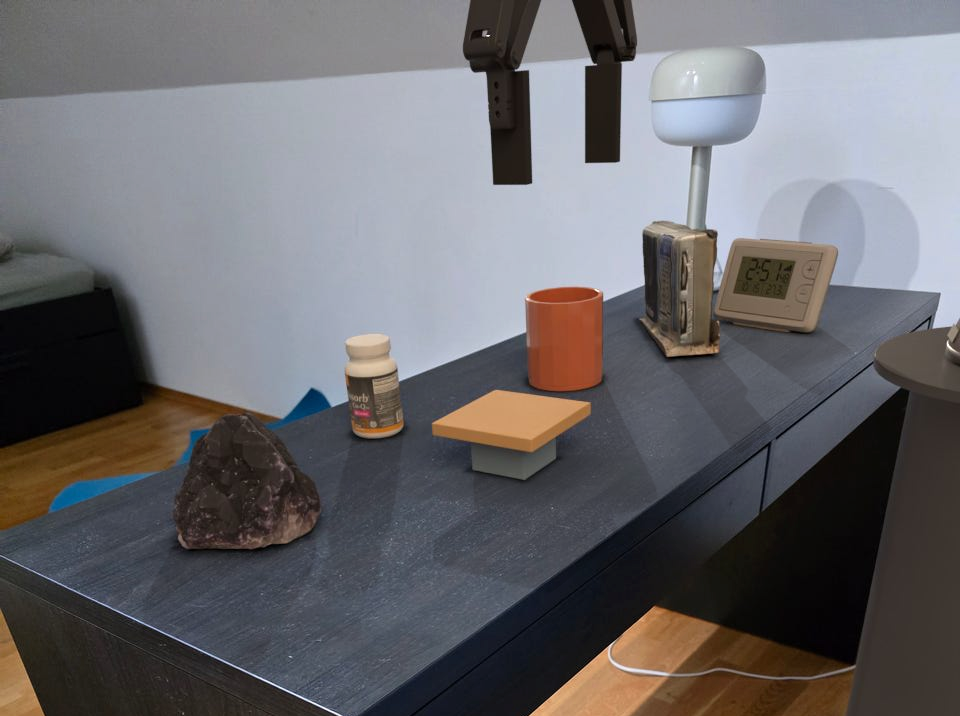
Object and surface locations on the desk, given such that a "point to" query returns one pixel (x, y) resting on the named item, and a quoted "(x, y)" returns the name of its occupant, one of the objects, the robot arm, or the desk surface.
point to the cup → (564, 338)
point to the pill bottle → (373, 387)
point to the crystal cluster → (243, 489)
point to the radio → (680, 288)
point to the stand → (511, 459)
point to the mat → (512, 420)
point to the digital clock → (775, 284)
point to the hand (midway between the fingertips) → (560, 173)
